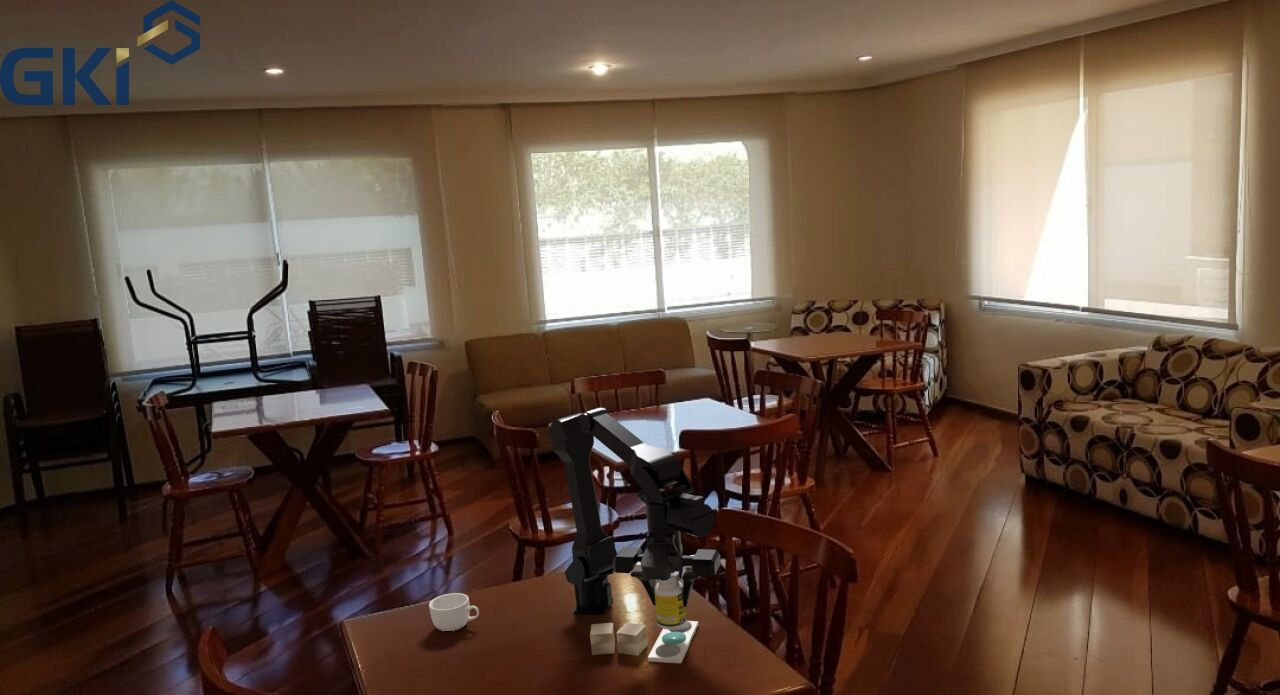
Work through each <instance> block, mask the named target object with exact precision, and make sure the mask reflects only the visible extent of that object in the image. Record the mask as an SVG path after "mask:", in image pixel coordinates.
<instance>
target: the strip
mask: <svg viewBox="0 0 1280 695" xmlns="http://www.w3.org/2000/svg"><path fill="white" fill-rule="evenodd" d="M698 625H699V621H697V620H695V621H694V620H686V624H685V625H684V626H683V627H681V628H678V629H672V630H668V629H663V628H662V630H661V632H660V633H659V636H658V637H657V639H656V641H655V643H654V645H653V647H652V648H651V650H650V652H649V653H648V656H647V661H648V662H653V663H654V662H655V663H669V664H671V663H672V664H682V663H683V660H684V658H685V656H686V654H687V652H688V650H689V647H690V645H691V643H692V641H693V639H694V637H695V634H696V632H697V630H698V628H699V626H698ZM697 627H698V628H697ZM696 629H697V630H696ZM693 636H694V637H693ZM692 638H693V639H692ZM691 640H692V641H691Z"/></svg>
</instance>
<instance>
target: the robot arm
mask: <svg viewBox="0 0 1280 695" xmlns="http://www.w3.org/2000/svg"><path fill="white" fill-rule="evenodd" d="M548 437H549V440H550V442H551V445H552V449H553V451H554V453H555V454H556V455H557V456H558V457H559V459H561V461H562V462H563V464H564V468H565V475H566V481H567V486H568V490H569V492H568V493H569V496H570V500H571V501H570V503H571V506H572V512H573V513H572V514H573V518H574V524H575V529H576V535H575V538H574V541H573V544H572V546H571V554H572V561H571V563H570V564H569V565H568V567H567V568H566V569H565V570H564V575H565V579H566V581H567V583H569V584H571V585H572V586H573V588H574V595H575V596H574V597H575V604H576V606H575V607H574V608H573V613H577V614H597V615H603V614H605V612H606V611H607V610H608V608H610V606H611V604H612V603H613V601H614V598H613V593H612V583H611V582H609V577H608V576H610V575H613V574H630V576H631V578H636V579H638V581H640V583H642V586H643V587H644V588H645V590H646V593H647V595H648V596H649V599H650V601H651V603H652V605H653V606H655V607H656V604H655V590H654V589H655V586H656V584H657V581H658V580H662V581H665V580H668V579H669V578H670V577H671V573H674V572H679V573H680V572H681V571H682V567H683V568H684V570H685V571H684V573H683V575H682V576H681V580H682V581H683V582H682V584H683V603H684V607H685V608H687V607H688V604H689V600H690V597H691V593H692V589H693V586H694V581H695V580H698V579H700V578H701V577H710V578H712V577H714V576H716V575H717V572H718V570H719V568H720V566H721V565H722V564H721V563H722V562H721V554H720V552H718V550H716V549H706V548H705V549H704V548H702V549H701V548H698V549H697V551H696V553H695V554H693V555H692V554H691V555H683V552H684V549H683V544H682V540H681V533H684V534H688V535H690V536H693V537H697V538H704V537H706V536H707V535H709V533H710V532H711V531H712V529H713V527H714V523H715V513H714V512H713V511H714V510H713V509H712V507H711V505H709V504H707V503H705V497H704V496H701V495H693V494H690V493H693V492H694V491H695V489H694V486H693V485H692V483H691V480H690V478H689V477H688V475H687V474H686V472H685V470H684V469H683V467H682V465H681V463H680V461H679V459H678V458H677V456H676V455H674V454H673V453H671V452H670V451H668V450H666V449H664V448H663V447H659V446H653V445H650V444H647V443H645V442H644V441H643V440H642V439H640V438H639V437H637V436H636V435H635V434H634V433H632V432H631V431H630V430H629V429H627V428H626V427H625V426H624V425H623V424H621V423H620V422H619V421H617V420H616V419H615V418H614V417H612V416H611V415H610V413H609V411H608V410H607V409H606V408H605V407H597V408H593V409H590V410H586V411H584V412H579V413H578V412H577V413H575V414H571V415H568V416H564V417H560V418H559V419H558V418H557V419H554V420H553V421H552V422H551V424H550V426H548ZM595 439H596V440H597V441H598V442H600V443H601V444H602V445H604V446H605V447H606V448H607V449H608V450H610V451H611V452H612V453H613V454H614V455H616V456H617V457H618V458H619V459H621V461H622V462H624V463H625V464H626V465H627V466H628V467H629V471H630V473H631V478H633V479H634V481H635V482H636V483H637V484H638V485H639V486H640V488H641V489H640V490H639V491H638V492H637V493H636V497H637V498H639V499H642V500H645V501H644V502H645V511H646V512H645V513H646V522H647V523H646V524H647V534H646V545H645V549H644V552H643V549H642V548H641V547H640V546H638V547H637V546H636V547H635V546H634V547H633V546H631V547H630V546H623V547H622V548H621V549H620V550H619V551H618V552H617V549H616V542H615V538H614V536H612V535H611V536H609V535H608V534H607V533H606V531H605V530H603V528H602V522H601V517H600V513H599V512H600V511H599V506H598V501H597V495H596V489H595V486H594V479H593V473H592V468H591V463H590V456H591V454H592V451H593V447H594V444H595ZM674 484H677V485H675V486H672V485H674ZM669 486H672V487H670V488H667V489H663V488H666V487H669ZM656 580H657V581H656Z"/></svg>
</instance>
